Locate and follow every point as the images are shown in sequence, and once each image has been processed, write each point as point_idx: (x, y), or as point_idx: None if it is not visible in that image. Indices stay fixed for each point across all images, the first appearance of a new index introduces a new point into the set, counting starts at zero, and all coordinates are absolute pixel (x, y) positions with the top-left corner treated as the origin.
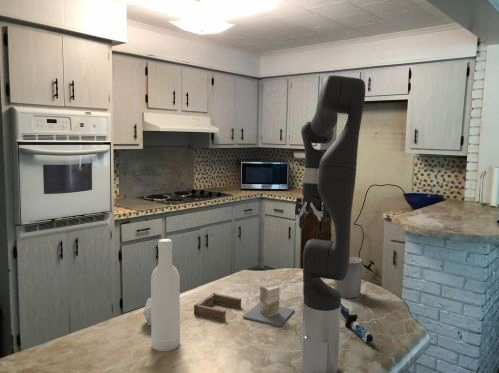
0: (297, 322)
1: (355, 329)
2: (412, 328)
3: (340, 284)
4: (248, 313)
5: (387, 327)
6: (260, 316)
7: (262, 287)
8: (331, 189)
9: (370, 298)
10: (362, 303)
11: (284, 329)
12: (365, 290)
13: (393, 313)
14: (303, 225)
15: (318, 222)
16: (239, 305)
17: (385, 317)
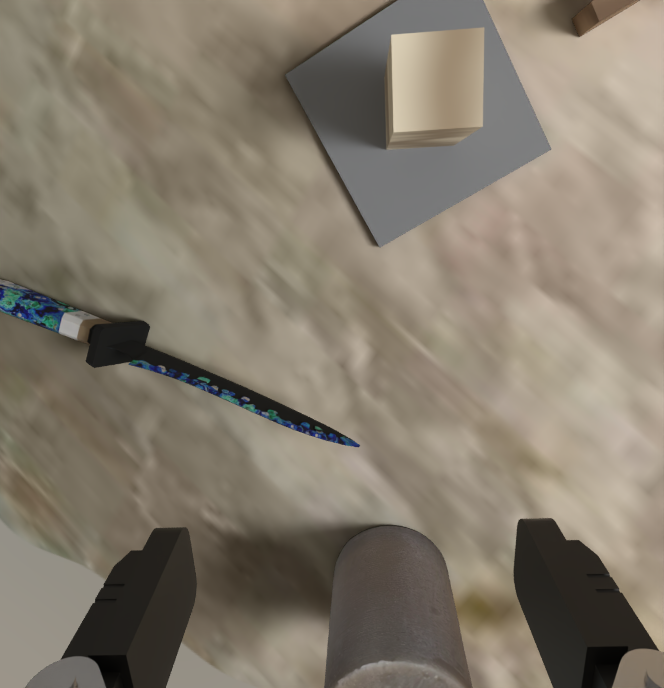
0: (279, 177)
1: (71, 309)
2: (29, 512)
3: (384, 562)
4: (474, 6)
5: (72, 450)
6: None
7: (457, 30)
8: None
9: (298, 607)
10: (279, 545)
11: (254, 75)
12: None
13: None
14: (529, 587)
15: (126, 634)
16: (578, 13)
17: (138, 511)
